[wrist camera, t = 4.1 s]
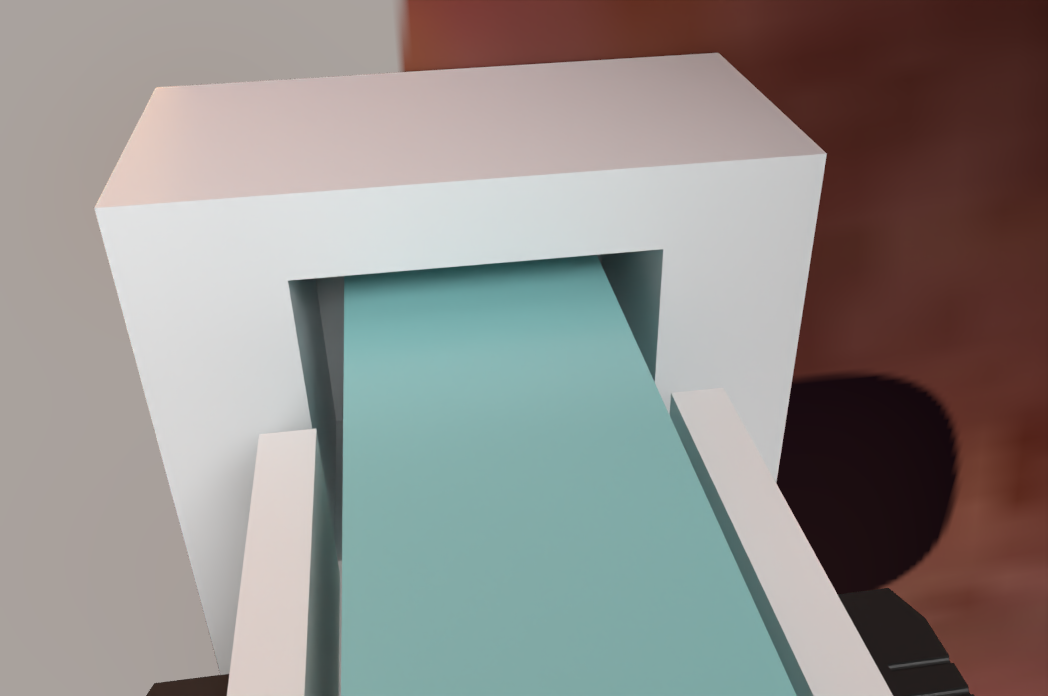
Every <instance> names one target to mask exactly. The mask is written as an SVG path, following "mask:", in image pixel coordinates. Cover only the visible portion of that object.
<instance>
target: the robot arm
mask: <svg viewBox="0 0 1048 696" xmlns="http://www.w3.org/2000/svg"><path fill="white" fill-rule="evenodd" d="M669 415H670V417H671V420H672V422H673V424H674V426H675V428H676V431H677V433H678V435H679V437H680V439H681V442H682V444H683V446H684V448H685V450H686V453H687V455H688V457H689V459H690V462H691V464H692V466H693V468H694V470H695V473H696V475H697V477H698V479H699V481H700V484H701V486H702V488H703V490H704V492H705V495H706V497H707V499H708V501H709V503H710V506H711V508H712V510H713V512H714V514H715V517H716V519H717V521H718V523H719V525H720V528H721V530H722V532H723V534H724V537H725V539H726V541H727V543H728V545H729V548H730V550H731V552H732V554H733V556H734V559H735V561H736V563H737V565H738V567H739V570H740V572H741V574H742V576H743V578H744V581H745V583H746V585H747V587H748V589H749V592H750V594H751V596H752V598H753V600H754V603H755V605H756V607H757V609H758V611H759V614H760V616H761V618H762V620H763V623H764V625H765V627H766V629H767V631H768V634H769V636H770V638H771V640H772V642H773V645H774V647H775V649H776V651H777V653H778V656H779V658H780V660H781V662H782V664H783V667H784V669H785V671H786V673H787V675H788V678H789V680H790V682H791V684H792V686H793V689H794V691H795V693H796V695H797V696H974V694H970V693H969V690H968V685H967V683H966V682H965V680H964V679H963V677H962V676H961V674H960V672H959V671H958V669H957V668H956V666H955V664H954V663H950V661H949V655H948V653H947V652H946V650H945V649H944V647H943V646H942V644H941V642H940V641H939V639H938V638H937V636H936V634H935V633H934V631H933V630H932V628H931V627H930V625H929V623H928V622H927V620H926V619H925V618H924V617H923V616H922V615H921V614H919V613H918V612H917V611H916V610H915V609H913V608H912V607H911V606H910V605H908V604H907V603H906V602H905V601H904V600H902V599H901V598H900V597H899V596H898V595H896V594H895V593H894V592H893V591H891V590H890V589H889V588H885V589H877V590H869V591H861V592H853V593H846V594H837V593H836V591H835V589H834V588H833V586H832V584H831V582H830V580H829V579H828V577H827V575H826V573H825V571H824V569H823V568H822V566H821V564H820V562H819V560H818V558H817V557H816V555H815V553H814V551H813V549H812V548H811V546H810V544H809V542H808V540H807V539H806V537H805V535H804V533H803V531H802V529H801V528H800V526H799V524H798V522H797V520H796V519H795V517H794V515H793V513H792V511H791V509H790V508H789V506H788V504H787V502H786V500H785V499H784V497H783V495H782V493H781V491H780V490H779V488H778V486H777V484H776V482H775V480H774V479H773V477H772V475H771V473H770V471H769V470H768V468H767V466H766V464H765V462H764V460H763V459H762V457H761V455H760V453H759V451H758V450H757V448H756V446H755V444H754V442H753V441H752V439H751V437H750V435H749V433H748V431H747V430H746V428H745V426H744V424H743V422H742V421H741V419H740V417H739V415H738V413H737V411H736V410H735V408H734V406H733V404H732V402H731V401H730V399H729V397H728V395H727V393H726V392H725V390H724V388H714V389H704V390H694V391H684V392H674V393H671V401H670V414H669ZM339 616H340V572H339V565H338V559H337V553H336V547H335V541H334V534H333V528H332V522H331V516H330V510H329V503H328V497H327V491H326V485H325V479H324V472H323V466H322V460H321V454H320V448H319V441H318V435H317V429H306V430H297V431H287V432H277V433H267V434H259V439H258V447H257V455H256V464H255V472H254V480H253V488H252V496H251V504H250V512H249V520H248V528H247V536H246V544H245V552H244V560H243V568H242V577H241V585H240V593H239V601H238V609H237V617H236V625H235V633H234V641H233V649H232V657H231V665H230V673H229V674H225V675H217V676H209V677H201V678H193V679H185V680H177V681H170V682H162V683H155V684H154V685H153V686H152V688H151V689H150V691H149V692H148V694H147V695H146V696H339Z"/></svg>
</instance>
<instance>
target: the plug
mask: <svg viewBox="0 0 1048 696" xmlns="http://www.w3.org/2000/svg"><path fill="white" fill-rule="evenodd" d="M341 696H797V695H796V693H795V691H794V689H793V686H792V684H791V682H790V680H789V678H788V675H787V673H786V671H785V669H784V667H783V664H782V662H781V660H780V658H779V656H778V653H777V651H776V649H775V647H774V645H773V642H772V640H771V638H770V636H769V634H768V631H767V629H766V627H765V625H764V623H763V620H762V618H761V616H760V614H759V611H758V609H757V607H756V605H755V603H754V600H753V598H752V596H751V594H750V592H749V589H748V587H747V585H746V583H745V581H744V578H743V576H742V574H741V572H740V570H739V567H738V565H737V563H736V561H735V559H734V556H733V554H732V552H731V550H730V548H729V545H728V543H727V541H726V539H725V537H724V534H723V532H722V530H721V528H720V525H719V523H718V521H717V519H716V517H715V514H714V512H713V510H712V508H711V506H710V503H709V501H708V499H707V497H706V495H705V492H704V490H703V488H702V486H701V484H700V481H699V479H698V477H697V475H696V473H695V470H694V468H693V466H692V464H691V462H690V459H689V457H688V455H687V453H686V450H685V448H684V446H683V444H682V442H681V439H680V437H679V435H678V433H677V431H676V428H675V426H674V424H673V422H672V420H671V417H670V415H669V413H668V411H667V409H666V406H665V404H664V402H663V400H662V398H661V395H660V393H659V391H658V389H657V387H656V384H655V382H654V380H653V378H652V375H651V373H650V371H649V369H648V367H647V364H646V362H645V360H644V358H643V356H642V353H641V351H640V349H639V347H638V345H637V342H636V340H635V338H634V336H633V334H632V331H631V329H630V327H629V325H628V323H627V320H626V318H625V316H624V314H623V312H622V309H621V307H620V305H619V303H618V301H617V298H616V296H615V294H614V292H613V289H612V287H611V285H610V283H609V281H608V278H607V276H606V274H605V272H604V270H603V267H602V265H601V263H600V261H599V259H598V256H597V255H588V256H576V257H564V258H552V259H540V260H528V261H516V262H504V263H492V264H480V265H468V266H457V267H445V268H433V269H421V270H409V271H397V272H385V273H373V274H361V275H349V276H344V383H343V506H342V629H341Z"/></svg>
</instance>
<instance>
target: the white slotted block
mask: <svg viewBox="0 0 1048 696" xmlns="http://www.w3.org/2000/svg"><path fill="white" fill-rule="evenodd" d="M826 156H827V153H825V152H824V151H823V150H822V149H821V148H820V147H819V146H818V145H817V144H816V143H815V142H814V141H813V140H812V139H810V138H809V137H808V136H807V135H806V134H805V133H804V132H803V131H802V130H801V129H800V128H799V127H798V126H797V125H795V124H794V123H793V122H792V121H791V120H790V119H789V118H788V117H787V116H786V115H785V114H784V113H783V112H781V111H780V110H779V109H778V108H777V107H776V106H775V105H774V104H773V103H772V102H771V101H770V100H769V99H768V98H766V97H765V96H764V95H763V94H762V93H761V92H760V91H759V90H758V89H757V88H756V87H755V86H754V85H753V84H751V83H750V82H749V81H748V80H747V79H746V78H745V77H744V76H743V75H742V74H741V73H740V72H739V71H738V70H736V69H735V68H734V67H733V66H732V65H731V64H730V63H729V62H728V61H727V60H726V59H725V58H724V57H722V56H721V55H720V54H719V53H706V54H690V55H674V56H658V57H641V58H625V59H609V60H593V61H576V62H560V63H544V64H528V65H511V66H495V67H479V68H463V69H446V70H430V71H414V72H398V73H382V74H366V75H349V76H333V77H317V78H301V79H285V80H268V81H252V82H235V83H221V84H204V85H187V86H171V87H156V88H155V90H154V92H153V94H152V96H151V98H150V100H149V102H148V104H147V106H146V108H145V110H144V112H143V114H142V116H141V117H140V120H139V121H138V123H137V125H136V127H135V129H134V131H133V133H132V135H131V137H130V139H129V141H128V143H127V145H126V147H125V149H124V151H123V153H122V155H121V157H120V159H119V161H118V163H117V165H116V167H115V169H114V170H113V172H112V174H111V176H110V178H109V180H108V182H107V184H106V186H105V188H104V190H103V192H102V194H101V196H100V198H99V200H98V202H97V204H96V206H95V208H94V209H95V212H96V216H97V220H98V224H99V227H100V231H101V234H102V239H103V242H104V245H105V250H106V253H107V257H108V261H109V264H110V268H111V272H112V275H113V279H114V283H115V287H116V290H117V294H118V298H119V301H120V305H121V308H122V312H123V316H124V320H125V324H126V327H127V331H128V335H129V338H130V342H131V346H132V350H133V353H134V357H135V361H136V364H137V368H138V371H139V375H140V379H141V383H142V386H143V390H144V394H145V397H146V401H147V405H148V408H149V412H150V416H151V420H152V423H153V427H154V431H155V435H156V438H157V442H158V446H159V449H160V453H161V457H162V461H163V464H164V468H165V472H166V475H167V479H168V483H169V486H170V490H171V494H172V498H173V501H174V505H175V508H176V512H177V516H178V519H179V523H180V527H181V531H182V534H183V538H184V542H185V545H186V549H187V553H188V557H189V560H190V564H191V568H192V571H193V575H194V579H195V583H196V586H197V590H198V594H199V597H200V601H201V604H202V608H203V612H204V616H205V619H206V623H207V627H208V630H209V634H210V638H211V642H212V646H213V649H214V653H215V656H216V660H217V664H218V668H219V671H220V675H225V674H229V673H230V665H231V657H232V649H233V641H234V633H235V625H236V617H237V609H238V601H239V593H240V585H241V577H242V568H243V560H244V552H245V544H246V536H247V528H248V520H249V512H250V504H251V496H252V488H253V480H254V472H255V464H256V455H257V447H258V439H259V434H267V433H277V432H287V431H297V430H306V429H317V435H318V441H319V448H320V454H321V460H322V466H323V472H324V479H325V485H326V491H327V497H328V503H329V510H330V516H331V522H332V528H333V534H334V541H335V547H336V553H337V559H338V565H339V572H340V616H339V696H341V629H342V506H343V383H344V276H349V275H361V274H373V273H385V272H397V271H409V270H421V269H433V268H445V267H457V266H468V265H480V264H492V263H504V262H516V261H528V260H540V259H552V258H564V257H576V256H588V255H597V256H598V259H599V261H600V263H601V265H602V267H603V270H604V272H605V274H606V276H607V278H608V281H609V283H610V285H611V287H612V289H613V292H614V294H615V296H616V298H617V301H618V303H619V305H620V307H621V309H622V312H623V314H624V316H625V318H626V320H627V323H628V325H629V327H630V329H631V331H632V334H633V336H634V338H635V340H636V342H637V345H638V347H639V349H640V351H641V353H642V356H643V358H644V360H645V362H646V364H647V367H648V369H649V371H650V373H651V375H652V378H653V380H654V382H655V384H656V387H657V389H658V391H659V393H660V395H661V398H662V400H663V402H664V404H665V406H666V409H667V411H668V413H669V414H670V401H671V393H674V392H684V391H694V390H704V389H714V388H724V390H725V392H726V393H727V395H728V397H729V399H730V401H731V402H732V404H733V406H734V408H735V410H736V411H737V413H738V415H739V417H740V419H741V421H742V422H743V424H744V426H745V428H746V430H747V431H748V433H749V435H750V437H751V439H752V441H753V442H754V444H755V446H756V448H757V450H758V451H759V453H760V455H761V457H762V459H763V460H764V462H765V464H766V466H767V468H768V470H769V471H770V473H771V475H772V477H773V479H774V480H775V482H776V481H777V475H778V469H779V462H780V456H781V449H782V442H783V436H784V430H785V423H786V416H787V409H788V403H789V397H790V390H791V384H792V377H793V371H794V364H795V358H796V351H797V345H798V338H799V332H800V325H801V319H802V312H803V306H804V299H805V293H806V286H807V280H808V273H809V266H810V260H811V253H812V247H813V240H814V234H815V227H816V221H817V214H818V208H819V201H820V195H821V188H822V182H823V175H824V169H825V162H826Z"/></svg>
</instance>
